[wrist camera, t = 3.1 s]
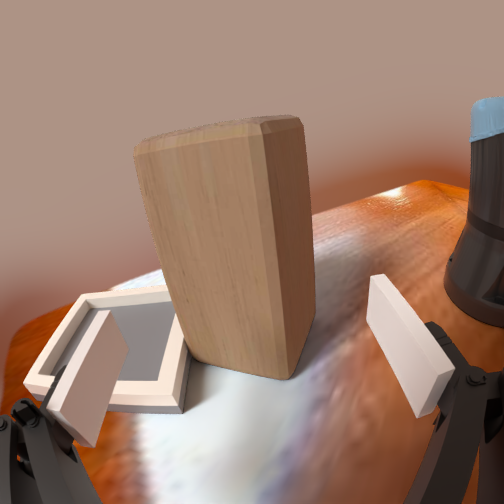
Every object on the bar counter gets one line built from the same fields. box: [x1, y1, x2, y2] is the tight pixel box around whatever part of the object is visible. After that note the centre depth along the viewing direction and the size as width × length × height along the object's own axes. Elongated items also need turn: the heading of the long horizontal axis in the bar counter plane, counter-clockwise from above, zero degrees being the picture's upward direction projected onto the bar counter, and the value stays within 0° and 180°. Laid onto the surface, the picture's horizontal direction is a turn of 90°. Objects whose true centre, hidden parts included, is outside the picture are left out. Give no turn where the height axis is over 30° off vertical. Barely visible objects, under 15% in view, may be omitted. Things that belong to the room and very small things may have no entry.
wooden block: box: [133, 115, 316, 380], centre depth 24 cm, size 10×10×20 cm
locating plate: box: [23, 285, 191, 414], centre depth 28 cm, size 17×17×3 cm
